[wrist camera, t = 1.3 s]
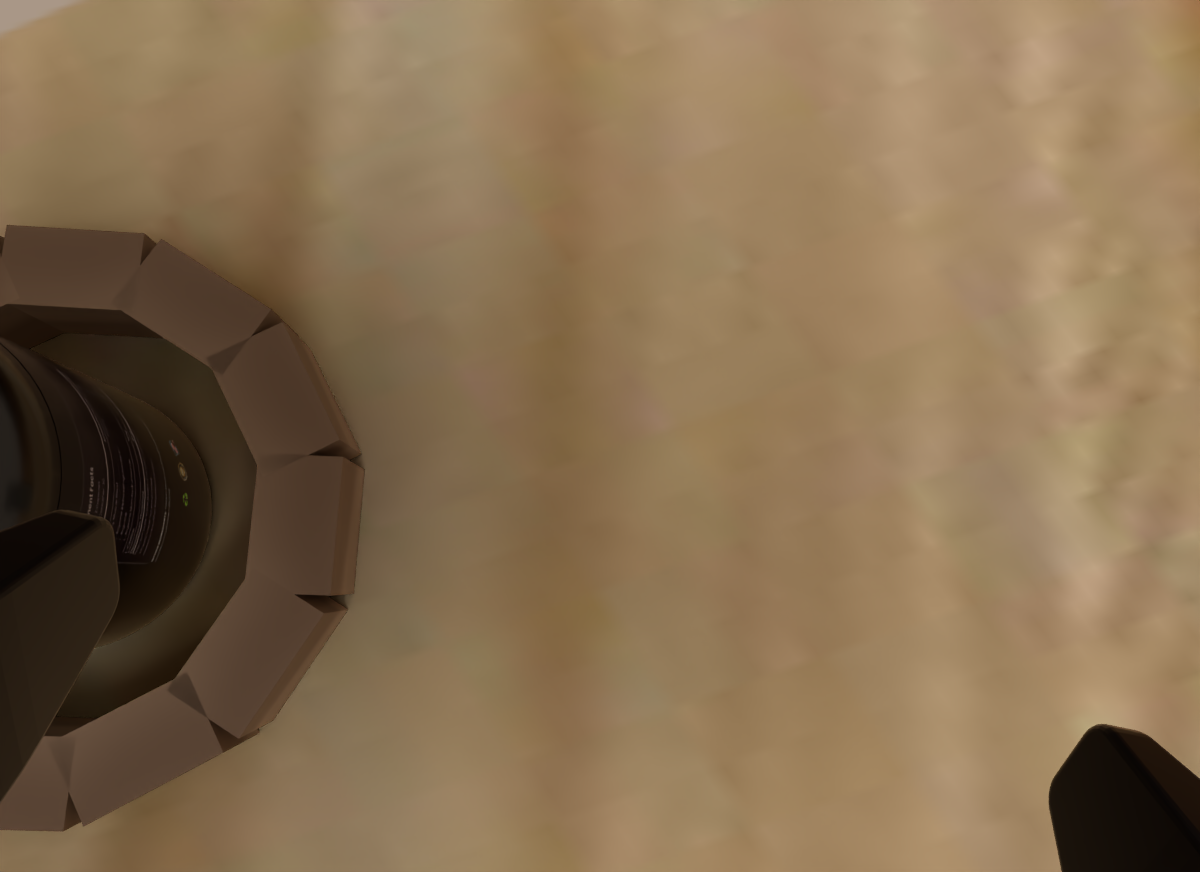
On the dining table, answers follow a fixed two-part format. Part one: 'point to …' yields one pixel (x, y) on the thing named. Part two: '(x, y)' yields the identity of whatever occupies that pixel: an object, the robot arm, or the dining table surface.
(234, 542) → the dining table surface
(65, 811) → the segmented ring
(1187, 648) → the dining table surface
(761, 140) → the dining table surface
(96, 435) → the supplement bottle
